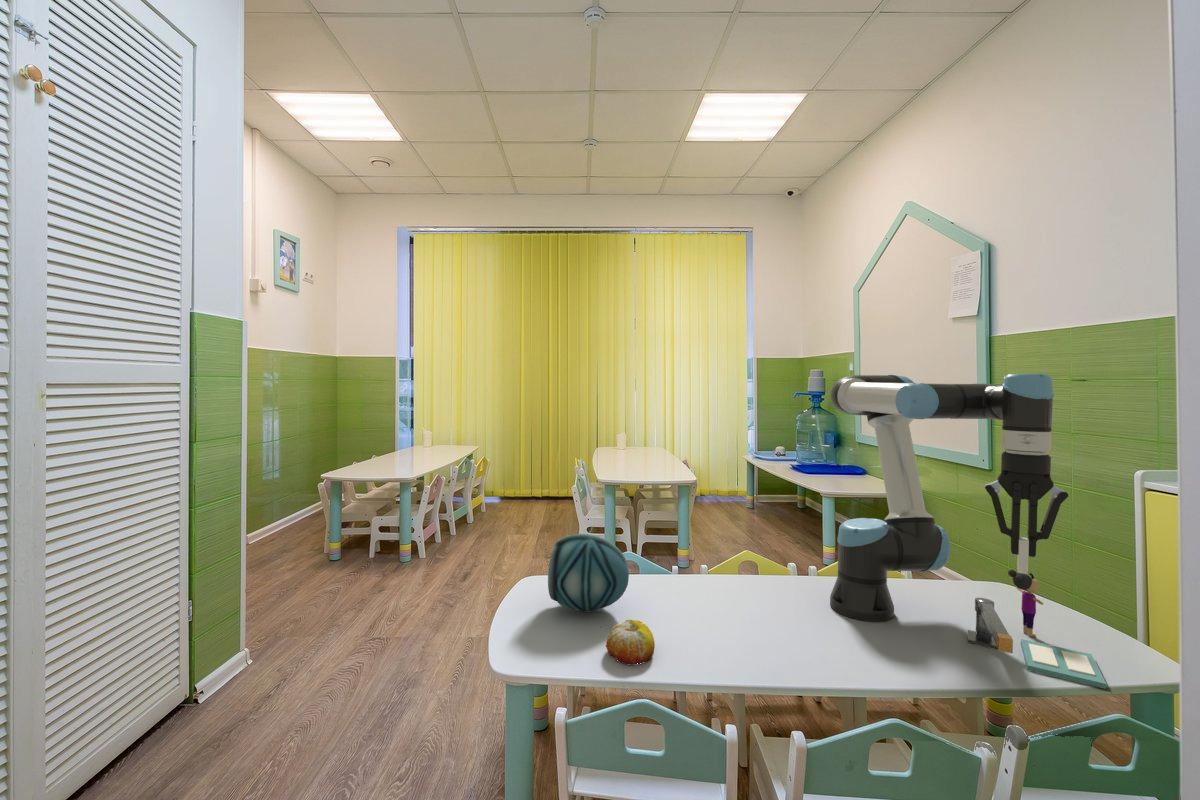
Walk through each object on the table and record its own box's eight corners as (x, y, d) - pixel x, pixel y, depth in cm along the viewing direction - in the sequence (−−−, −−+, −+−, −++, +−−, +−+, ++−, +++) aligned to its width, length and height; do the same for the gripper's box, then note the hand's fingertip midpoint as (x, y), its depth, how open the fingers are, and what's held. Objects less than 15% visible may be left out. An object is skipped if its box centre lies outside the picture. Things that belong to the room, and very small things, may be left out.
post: (967, 643, 120) (968, 614, 120) (967, 633, 125) (968, 605, 125) (1000, 650, 117) (1001, 621, 117) (999, 639, 122) (999, 611, 122)
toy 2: (1051, 646, 119) (1052, 580, 119) (1023, 643, 120) (1024, 578, 120) (1023, 625, 129) (1025, 565, 129) (998, 623, 130) (999, 563, 130)
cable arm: (973, 607, 123) (973, 596, 123) (992, 610, 122) (992, 599, 122) (994, 649, 103) (994, 636, 103) (1017, 654, 102) (1017, 640, 102)
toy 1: (560, 594, 147) (560, 523, 147) (631, 598, 144) (631, 526, 144) (544, 624, 129) (544, 543, 128) (625, 629, 126) (625, 547, 125)
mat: (1027, 669, 109) (1027, 663, 109) (1020, 643, 120) (1020, 637, 120) (1106, 689, 102) (1106, 682, 102) (1091, 658, 114) (1091, 652, 114)
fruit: (603, 639, 120) (614, 606, 120) (647, 653, 120) (657, 620, 120) (602, 664, 109) (614, 627, 109) (650, 680, 109) (662, 643, 109)
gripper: (984, 451, 103) (982, 570, 104) (1073, 457, 96) (1069, 584, 96) (984, 448, 109) (981, 560, 110) (1067, 452, 102) (1063, 573, 102)
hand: (1022, 571), depth 103 cm, fingers closed
